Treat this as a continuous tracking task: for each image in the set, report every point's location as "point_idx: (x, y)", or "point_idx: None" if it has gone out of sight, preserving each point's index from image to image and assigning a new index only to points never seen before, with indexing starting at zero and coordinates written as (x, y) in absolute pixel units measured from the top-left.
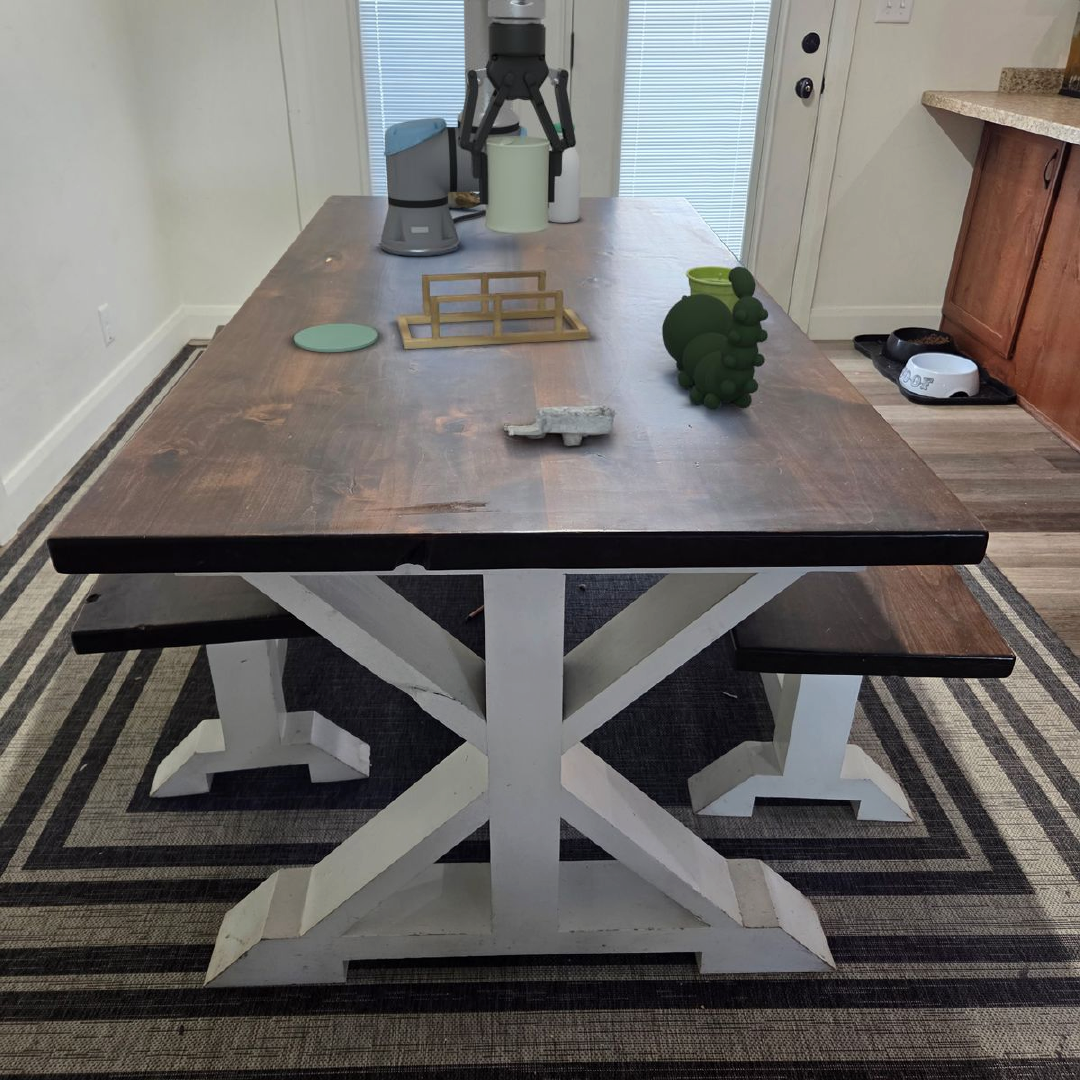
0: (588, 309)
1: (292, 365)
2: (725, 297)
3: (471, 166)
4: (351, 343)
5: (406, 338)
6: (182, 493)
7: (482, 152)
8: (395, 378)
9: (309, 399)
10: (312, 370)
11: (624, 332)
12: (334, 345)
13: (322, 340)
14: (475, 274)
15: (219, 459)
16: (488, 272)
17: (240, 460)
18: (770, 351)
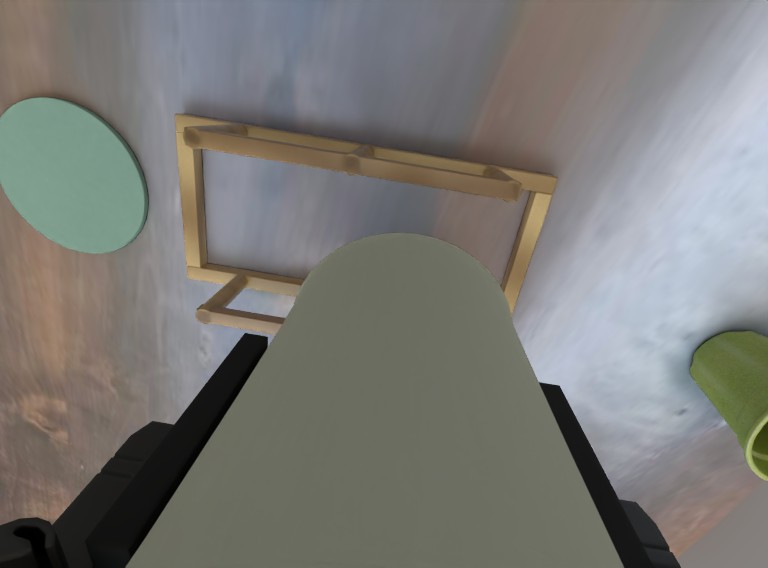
0: (616, 152)
1: (31, 283)
2: (762, 451)
3: (104, 474)
4: (103, 234)
5: (191, 265)
6: (22, 518)
7: (117, 561)
8: (180, 372)
9: (82, 397)
10: (65, 311)
11: (582, 313)
12: (76, 235)
13: (50, 201)
14: (325, 168)
15: (30, 483)
16: (363, 161)
17: (49, 490)
18: (722, 452)
